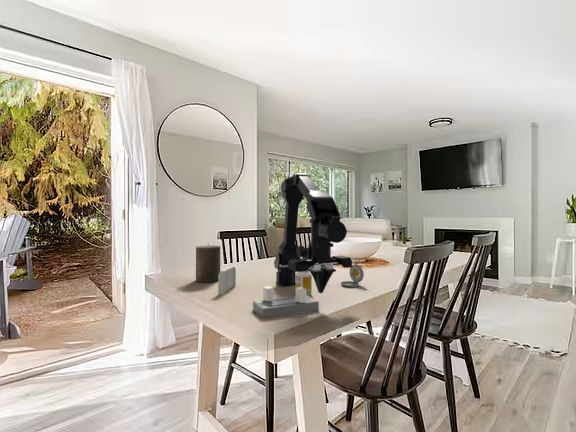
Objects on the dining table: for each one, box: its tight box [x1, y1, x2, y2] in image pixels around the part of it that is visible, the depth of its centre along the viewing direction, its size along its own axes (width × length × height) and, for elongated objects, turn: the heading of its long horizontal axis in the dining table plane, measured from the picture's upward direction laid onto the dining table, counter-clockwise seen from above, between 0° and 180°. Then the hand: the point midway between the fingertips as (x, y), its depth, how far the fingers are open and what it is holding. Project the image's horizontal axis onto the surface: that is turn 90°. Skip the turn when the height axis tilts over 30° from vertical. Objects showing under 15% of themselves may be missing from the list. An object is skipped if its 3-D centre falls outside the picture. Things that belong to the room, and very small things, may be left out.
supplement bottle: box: [295, 271, 313, 297], centre depth 110 cm, size 5×5×10 cm
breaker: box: [262, 285, 274, 302], centre depth 93 cm, size 2×3×4 cm
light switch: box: [217, 265, 237, 296], centre depth 115 cm, size 2×12×8 cm, turn 168°
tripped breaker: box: [295, 287, 307, 303], centre depth 92 cm, size 2×3×4 cm
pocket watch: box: [340, 258, 365, 288], centre depth 123 cm, size 8×8×10 cm
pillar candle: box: [195, 243, 221, 284], centre depth 131 cm, size 10×10×15 cm
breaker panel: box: [252, 295, 320, 319], centre depth 93 cm, size 17×8×3 cm, turn 115°
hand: (320, 292), depth 95 cm, fingers closed
